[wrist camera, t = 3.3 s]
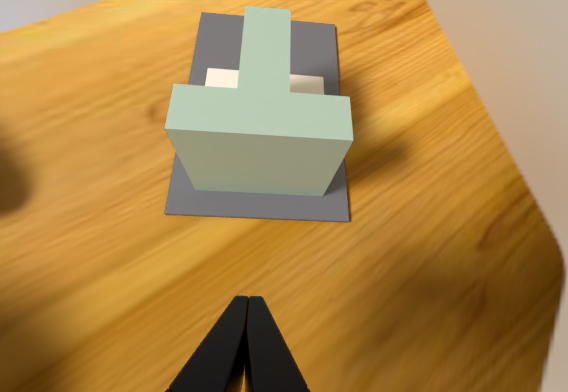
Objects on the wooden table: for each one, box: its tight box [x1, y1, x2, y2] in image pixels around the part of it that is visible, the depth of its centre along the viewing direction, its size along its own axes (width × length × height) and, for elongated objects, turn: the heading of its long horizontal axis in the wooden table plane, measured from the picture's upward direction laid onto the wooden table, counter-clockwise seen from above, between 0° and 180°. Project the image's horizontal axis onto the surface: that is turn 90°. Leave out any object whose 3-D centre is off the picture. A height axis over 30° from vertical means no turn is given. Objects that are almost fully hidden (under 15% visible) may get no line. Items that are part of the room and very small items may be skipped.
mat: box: [164, 12, 349, 222], centre depth 26 cm, size 22×14×1 cm, turn 179°
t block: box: [165, 6, 354, 196], centre depth 21 cm, size 10×10×8 cm
